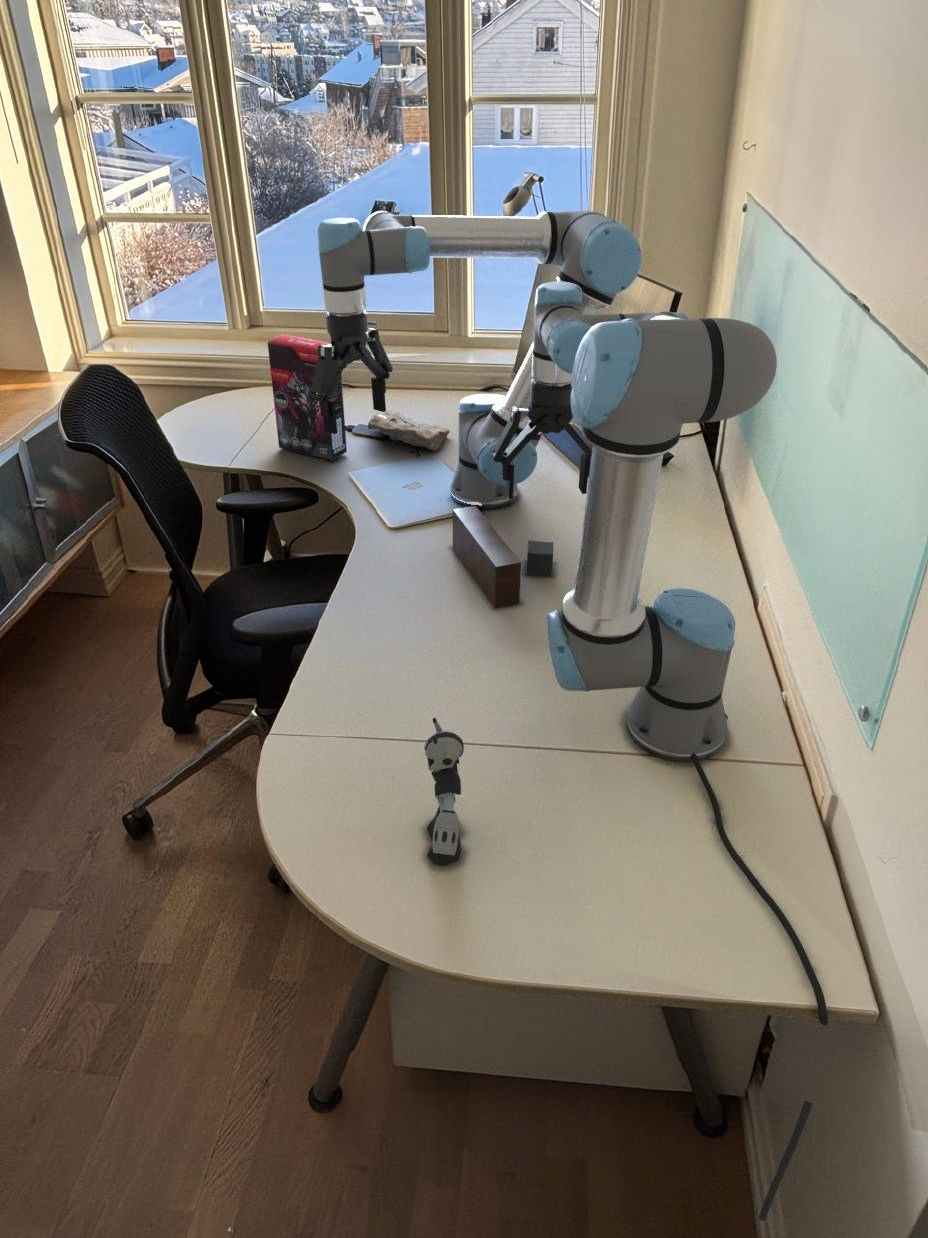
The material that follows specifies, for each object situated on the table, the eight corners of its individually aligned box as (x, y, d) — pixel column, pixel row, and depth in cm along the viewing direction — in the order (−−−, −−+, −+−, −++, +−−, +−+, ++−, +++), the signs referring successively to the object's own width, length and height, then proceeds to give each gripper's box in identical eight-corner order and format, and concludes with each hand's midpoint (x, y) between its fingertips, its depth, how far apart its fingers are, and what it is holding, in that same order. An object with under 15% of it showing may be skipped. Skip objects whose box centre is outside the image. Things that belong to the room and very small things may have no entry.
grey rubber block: (551, 576, 181) (553, 554, 178) (526, 575, 182) (527, 553, 179) (552, 563, 185) (553, 541, 183) (527, 562, 186) (528, 540, 183)
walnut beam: (519, 603, 173) (521, 562, 168) (494, 608, 172) (496, 566, 166) (475, 544, 192) (475, 505, 187) (452, 548, 190) (452, 509, 185)
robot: (466, 900, 116) (468, 784, 104) (427, 902, 115) (425, 785, 104) (459, 789, 132) (460, 678, 121) (425, 790, 132) (423, 679, 120)
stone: (352, 434, 231) (356, 410, 229) (373, 426, 244) (377, 403, 242) (430, 458, 227) (435, 434, 225) (447, 448, 241) (452, 426, 238)
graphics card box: (276, 448, 231) (264, 340, 216) (293, 439, 236) (282, 332, 221) (333, 462, 225) (324, 351, 209) (349, 452, 230) (341, 343, 214)
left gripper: (377, 292, 178) (385, 397, 190) (281, 323, 162) (295, 436, 174) (406, 298, 174) (412, 405, 186) (310, 331, 158) (323, 446, 170)
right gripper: (618, 368, 160) (606, 479, 172) (476, 375, 157) (474, 488, 169) (631, 383, 154) (618, 497, 166) (484, 390, 151) (482, 506, 162)
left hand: (356, 420), depth 180 cm, fingers open, 13 cm apart
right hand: (546, 493), depth 167 cm, fingers open, 13 cm apart
